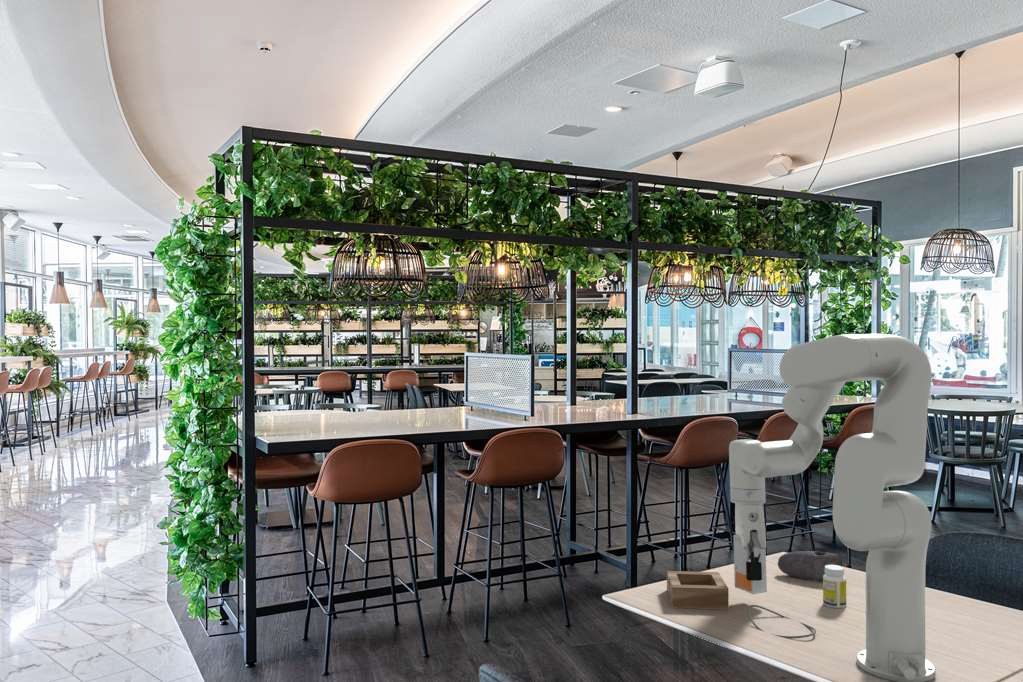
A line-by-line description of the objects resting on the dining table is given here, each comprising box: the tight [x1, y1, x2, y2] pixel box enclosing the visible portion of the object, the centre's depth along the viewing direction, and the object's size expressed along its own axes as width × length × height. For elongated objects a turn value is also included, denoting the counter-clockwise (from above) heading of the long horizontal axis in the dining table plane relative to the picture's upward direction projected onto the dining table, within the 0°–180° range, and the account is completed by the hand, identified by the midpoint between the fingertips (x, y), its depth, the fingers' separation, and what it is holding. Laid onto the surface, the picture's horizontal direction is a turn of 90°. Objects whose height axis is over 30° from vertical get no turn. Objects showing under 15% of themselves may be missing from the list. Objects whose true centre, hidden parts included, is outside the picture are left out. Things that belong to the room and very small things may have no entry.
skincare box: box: [733, 533, 768, 595], centre depth 170 cm, size 6×4×12 cm
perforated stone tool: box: [777, 550, 844, 582], centre depth 188 cm, size 15×5×7 cm, turn 60°
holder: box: [666, 570, 729, 610], centre depth 173 cm, size 12×12×4 cm
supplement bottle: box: [822, 565, 847, 609], centre depth 169 cm, size 5×5×8 cm
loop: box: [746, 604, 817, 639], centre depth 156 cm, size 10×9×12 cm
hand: (750, 574), depth 170 cm, fingers closed on skincare box, 7 cm apart
